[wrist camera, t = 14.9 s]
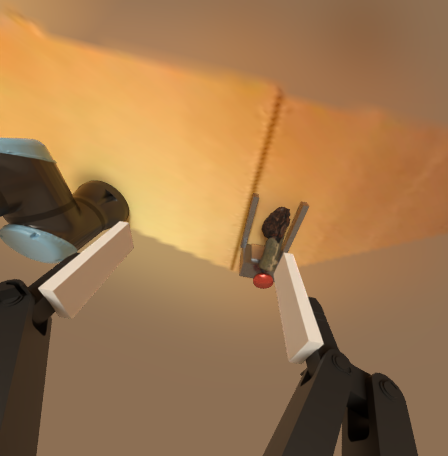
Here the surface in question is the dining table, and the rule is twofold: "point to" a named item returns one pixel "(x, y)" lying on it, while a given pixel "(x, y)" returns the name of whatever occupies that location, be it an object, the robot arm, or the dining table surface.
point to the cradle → (254, 252)
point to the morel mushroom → (274, 237)
